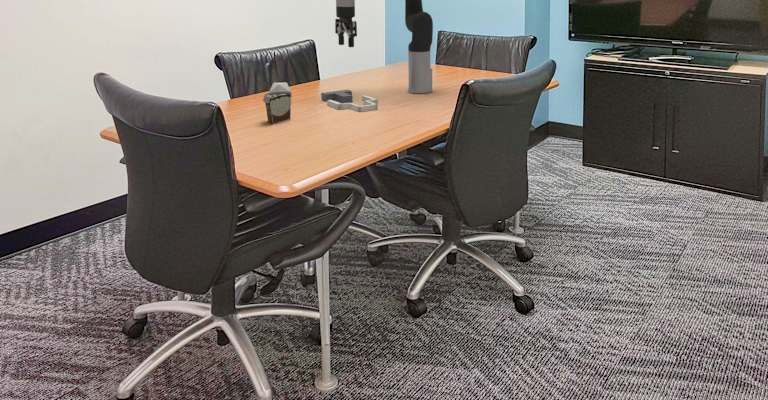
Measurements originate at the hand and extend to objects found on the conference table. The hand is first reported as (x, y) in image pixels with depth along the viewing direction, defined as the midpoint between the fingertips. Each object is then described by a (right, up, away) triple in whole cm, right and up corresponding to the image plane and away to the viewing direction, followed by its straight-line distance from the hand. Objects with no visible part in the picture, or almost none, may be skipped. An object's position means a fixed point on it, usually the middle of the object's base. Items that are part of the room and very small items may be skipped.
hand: (346, 46), depth 309 cm
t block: (-2, -23, -3) cm, 23 cm away
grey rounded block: (-26, -24, -5) cm, 36 cm away
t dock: (+5, -27, -15) cm, 31 cm away
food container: (-24, -35, -36) cm, 55 cm away
